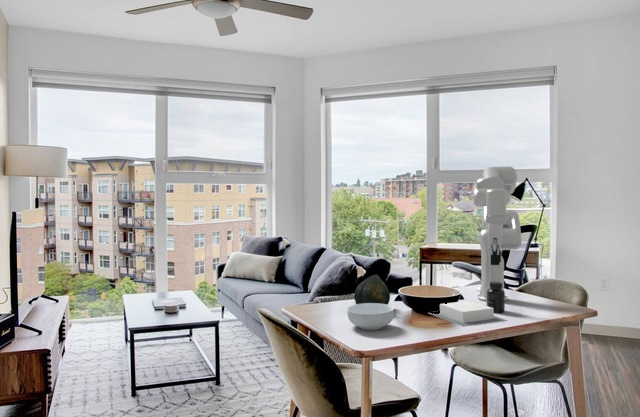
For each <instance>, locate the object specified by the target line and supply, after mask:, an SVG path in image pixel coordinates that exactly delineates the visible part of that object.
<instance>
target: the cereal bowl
mask: <svg viewBox="0 0 640 417" xmlns="http://www.w3.org/2000/svg"><path fill="white" fill-rule="evenodd" d="M346 313H347V318H348V320H349V321H350V323H351V324H353V325H354V326H356V327H358V328H360V329H361V330H365V331H377V330H381V329H383V327H385V326H387V325H389V324H390V323H391V322H392V321H393V319H394V318H395V317H394V316H395V308H394V306H392V305H390V304H388V305H386V304H379V303H363V304H356V303H355V304H352V305H349V306H348V307H347V311H346Z"/></svg>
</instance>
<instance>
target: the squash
mask: <svg viewBox="0 0 640 417" xmlns="http://www.w3.org/2000/svg"><path fill="white" fill-rule="evenodd" d="M389 290H390V289H388V286H387V285H386V284H385V282H384V281H383V280H382V279H381V277H380V276H379V275H378V274H373V275H371V276H368V277H366V278H365V279H364V280H363V281H361V282H360V283H359V284H358V285H357V286H356V288H355V291H354V295H353V296H354V297H353V299H354V302H355V305H356V304H363V303H379V304H386V305H389V303H390V300H391V295H390V294H391V293H390V291H389Z"/></svg>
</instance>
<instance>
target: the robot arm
mask: <svg viewBox="0 0 640 417" xmlns="http://www.w3.org/2000/svg"><path fill="white" fill-rule="evenodd" d="M517 176H518V175H517V171H516V169H515V168H514V167H512V166H509V165H508V166H490V167H487V168H485V169H484V170H483V172H482V177H480V178H479V179H477V181H476V182H475V185H474V186H473V187H472V188H473V189H472V201H473V204H474V206H475V207H478V208H481V220H482V221H481V223H482V227H483V228H484V229H481V231H480V232H479V234H478V236H479V237H478V239H479V246H480V256H481V259H480V261H481V262H480V263H481V264H480V267H481V269H480V270H481V271H480V274H481V279H480V281H481V282H480V285H481V286H479V287H477V288H476V291H477V292H479V294H478V295H477V299H479V300H481V301H484V302H487V290H488V289H490V287H489V286H490V282H501V283H502V289H503V290H504V291H505V260H504V258H503V256H502V253H501V251H517V250H519V249H520V248H521V246H522V232H521V231H522V230H521V220H520V216H519V213H517V211H515V210H512V209H511V210H507V206H508V204H509V203H510V201H511V199H510V198H511V197H510V195H512V194H513V193H514V192H515V190H516V185H517V181H518V180H517V179H518V177H517ZM508 298H509V297H508V296H507V295H505V302H506V301H508Z"/></svg>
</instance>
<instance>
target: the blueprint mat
mask: <svg viewBox="0 0 640 417" xmlns="http://www.w3.org/2000/svg"><path fill="white" fill-rule="evenodd" d="M428 315H431V316H434V317H437V318H440V319H442V320H445V321H447V322H450V323H452V324H456V325H459V326H460V327H471V326H478V325H484V324H485V325H486V324H492V323H499V322H507V321H508V319H505V318H501V317H498V316H496V315H494V319H488V320H481V321H473V322H466V323H462V322H459V321H457V320H454V319H451V318H448V317H446V316H443V315H440V313H439V314H434V313H433V314H432V313H430V312H428Z"/></svg>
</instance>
